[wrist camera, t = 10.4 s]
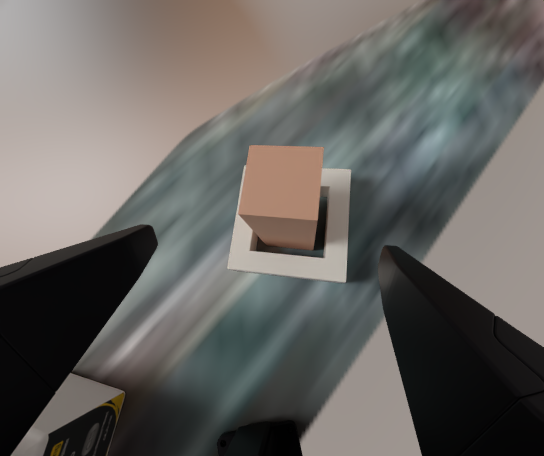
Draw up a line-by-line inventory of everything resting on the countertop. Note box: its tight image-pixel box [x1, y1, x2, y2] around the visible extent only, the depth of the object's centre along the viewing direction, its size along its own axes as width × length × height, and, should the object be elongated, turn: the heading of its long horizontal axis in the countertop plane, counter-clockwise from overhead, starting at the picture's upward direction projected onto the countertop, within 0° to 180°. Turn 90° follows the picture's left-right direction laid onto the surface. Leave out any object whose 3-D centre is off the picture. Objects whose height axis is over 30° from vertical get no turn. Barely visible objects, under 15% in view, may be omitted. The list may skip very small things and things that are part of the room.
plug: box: [238, 145, 324, 250], centre depth 18 cm, size 5×4×10 cm
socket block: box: [227, 166, 351, 283], centre depth 22 cm, size 10×10×2 cm
